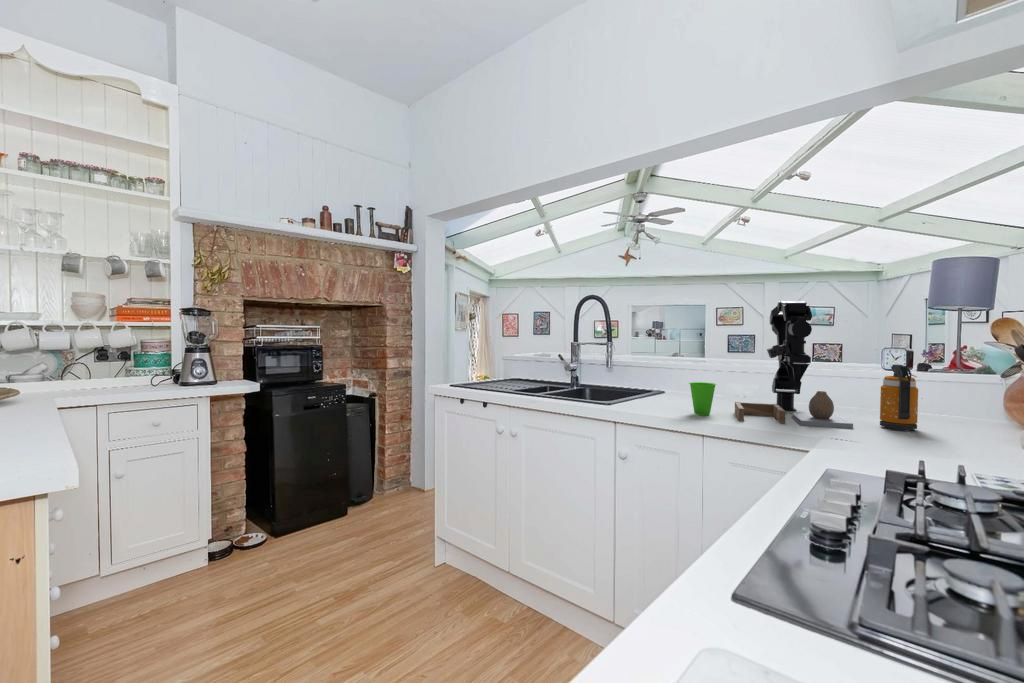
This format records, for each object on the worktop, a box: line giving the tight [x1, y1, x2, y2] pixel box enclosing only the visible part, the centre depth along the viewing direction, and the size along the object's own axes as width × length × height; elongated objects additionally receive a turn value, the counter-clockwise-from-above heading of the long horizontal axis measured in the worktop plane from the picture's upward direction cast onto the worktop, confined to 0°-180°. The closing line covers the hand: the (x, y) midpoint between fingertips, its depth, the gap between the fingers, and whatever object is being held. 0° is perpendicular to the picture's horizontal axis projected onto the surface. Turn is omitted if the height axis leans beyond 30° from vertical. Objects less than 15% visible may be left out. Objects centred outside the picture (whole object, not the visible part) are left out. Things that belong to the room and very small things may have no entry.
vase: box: [808, 390, 835, 419], centre depth 155 cm, size 7×7×9 cm
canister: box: [879, 364, 919, 432], centre depth 145 cm, size 9×11×20 cm
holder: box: [734, 401, 787, 424], centre depth 163 cm, size 15×14×4 cm
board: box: [791, 412, 854, 429], centre depth 155 cm, size 14×14×2 cm
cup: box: [688, 381, 717, 416], centre depth 169 cm, size 9×9×11 cm
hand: (794, 382), depth 166 cm, fingers open, 9 cm apart
